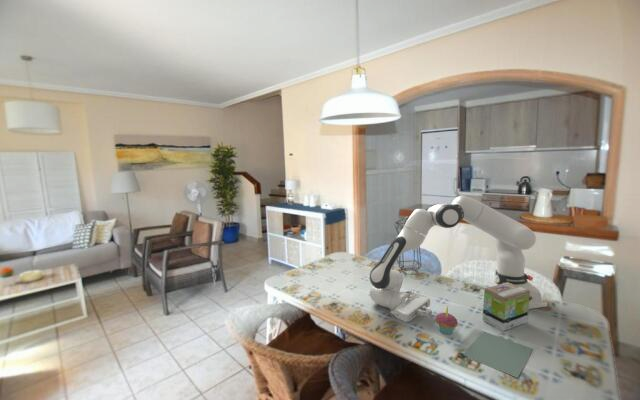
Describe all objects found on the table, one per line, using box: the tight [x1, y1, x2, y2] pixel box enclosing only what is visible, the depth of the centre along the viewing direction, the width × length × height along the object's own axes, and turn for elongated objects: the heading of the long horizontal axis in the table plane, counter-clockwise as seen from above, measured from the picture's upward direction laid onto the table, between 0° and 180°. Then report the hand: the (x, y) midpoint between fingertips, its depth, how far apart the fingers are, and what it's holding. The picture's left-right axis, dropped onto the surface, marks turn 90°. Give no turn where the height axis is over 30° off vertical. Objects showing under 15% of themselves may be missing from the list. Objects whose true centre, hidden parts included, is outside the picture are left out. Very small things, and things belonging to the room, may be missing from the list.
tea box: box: [482, 282, 530, 332], centre depth 125 cm, size 15×10×15 cm, turn 113°
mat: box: [462, 330, 534, 379], centre depth 109 cm, size 20×20×1 cm
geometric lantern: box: [393, 215, 423, 275], centre depth 182 cm, size 16×16×35 cm
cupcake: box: [434, 305, 459, 335], centre depth 121 cm, size 9×8×12 cm
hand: (430, 313), depth 126 cm, fingers closed
